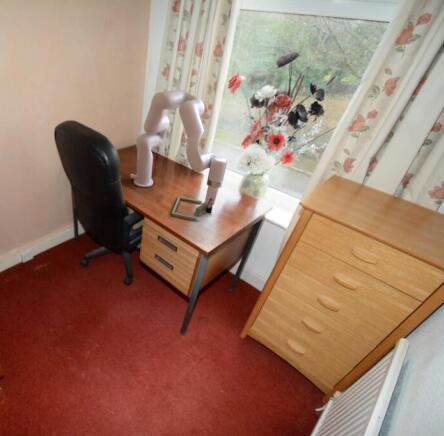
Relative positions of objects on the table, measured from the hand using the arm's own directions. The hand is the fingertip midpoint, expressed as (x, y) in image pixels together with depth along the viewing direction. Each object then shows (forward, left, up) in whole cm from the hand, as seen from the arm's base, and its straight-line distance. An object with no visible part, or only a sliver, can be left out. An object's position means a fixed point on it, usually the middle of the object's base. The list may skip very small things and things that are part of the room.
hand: (208, 212), depth 148 cm
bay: (-11, 0, -1) cm, 11 cm away
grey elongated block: (-3, 0, -1) cm, 3 cm away
